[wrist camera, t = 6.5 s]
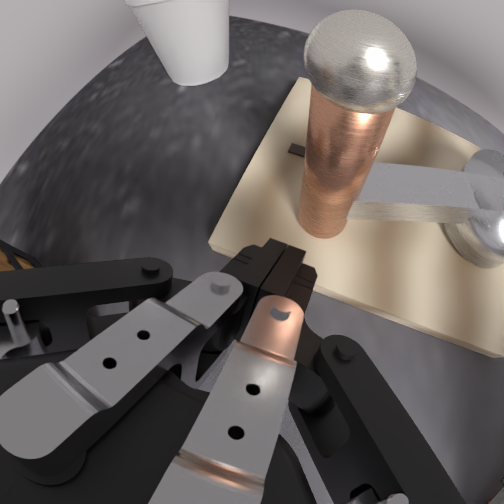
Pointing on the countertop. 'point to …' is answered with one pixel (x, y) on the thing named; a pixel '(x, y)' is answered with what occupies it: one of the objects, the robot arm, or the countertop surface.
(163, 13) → the foam cup
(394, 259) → the stand plate
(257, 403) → the robot arm
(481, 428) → the countertop surface
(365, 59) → the lever
